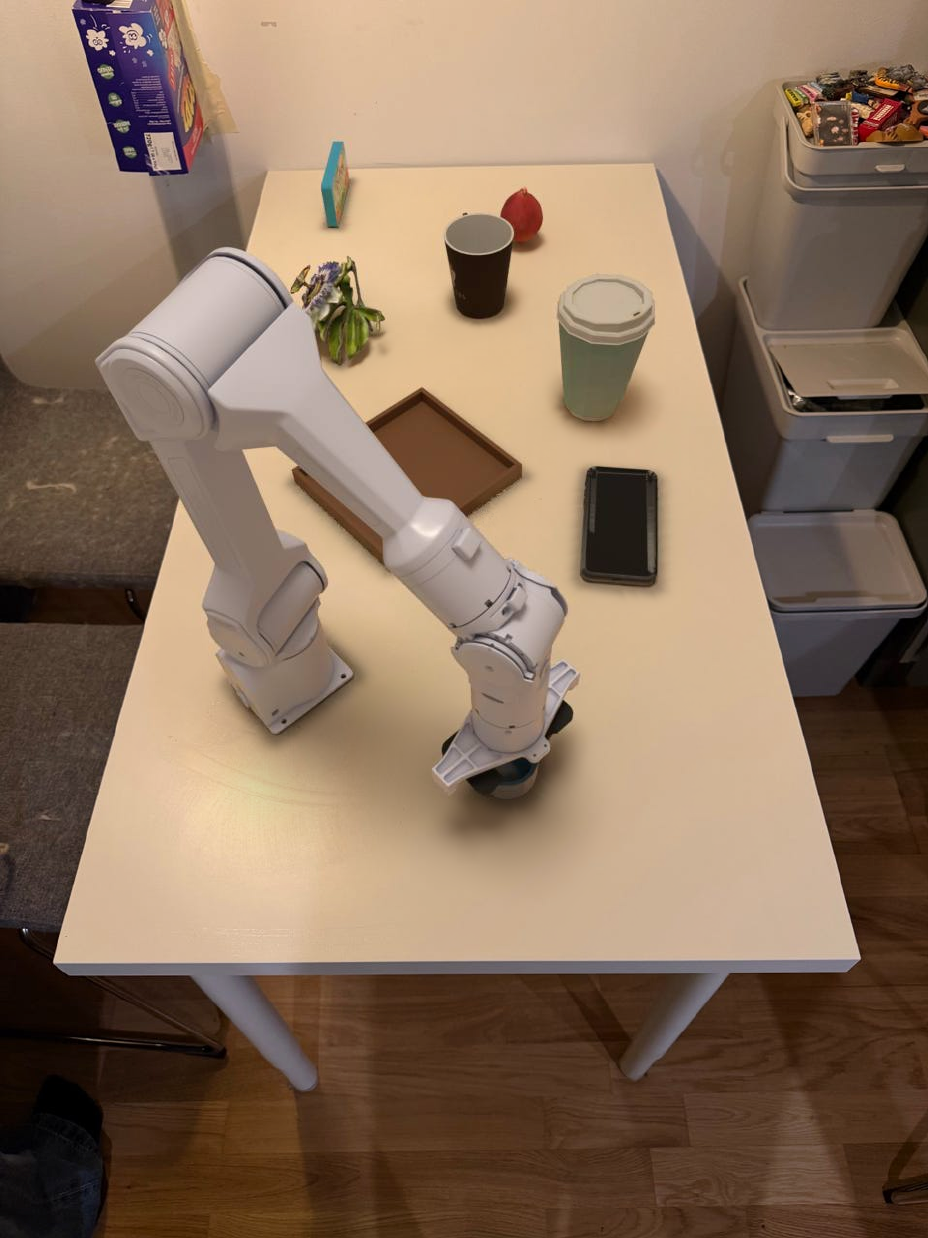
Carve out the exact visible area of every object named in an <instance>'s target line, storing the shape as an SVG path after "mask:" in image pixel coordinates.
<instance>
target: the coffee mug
mask: <svg viewBox="0 0 928 1238" xmlns="http://www.w3.org/2000/svg"><path fill="white" fill-rule="evenodd" d="M513 238H514V230H513V227H512V226H511V224H510V223H509V222H508V221H507V220H505V219H503V218H502V217H500V215H496V214H492V213H487V212H475V213H474V212H473V213H468V212H463V213H462V215H461V216H459V217H457V218H454V219H453V220H452V221H450V222H449V223H448V224H447V225H446V227H444V231H443V240H444V244H445V245H444V246H445V251H446V258H447V262H448V268H449V274H450V279H451V284H452V285H451V286H452V291H453V296H454V300H455V307H456V310H457V311H458V312H459V313H460V314H461V315H462V316H465V317H466V318H469V319H474V320H485V319H489V318H493V317H495V316H497V315H498V314H499V313H501V311H503V309H504V306H505V302H506V301H505V300H506V294H507V287H508V280H509V274H510V267H511V259H512V252H513V244H514V240H513Z"/></svg>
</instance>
